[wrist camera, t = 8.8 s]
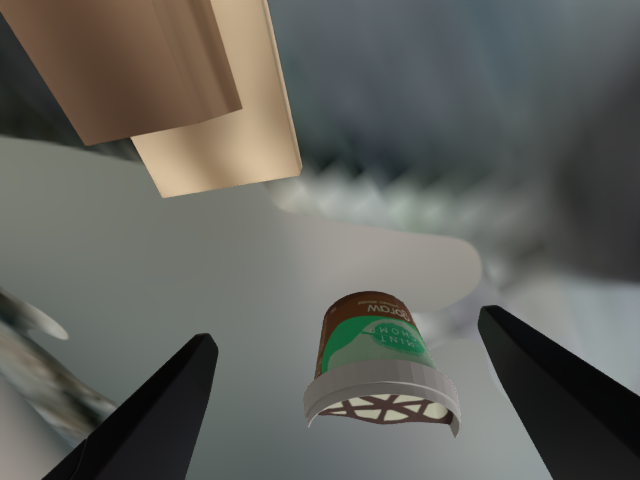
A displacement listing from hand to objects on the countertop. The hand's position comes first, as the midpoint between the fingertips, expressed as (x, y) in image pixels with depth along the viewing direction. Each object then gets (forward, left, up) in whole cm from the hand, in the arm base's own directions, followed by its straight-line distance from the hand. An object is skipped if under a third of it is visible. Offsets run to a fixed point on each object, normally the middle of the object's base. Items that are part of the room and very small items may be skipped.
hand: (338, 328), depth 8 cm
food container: (-2, +13, -13) cm, 19 cm away
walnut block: (+7, -9, -11) cm, 16 cm away
